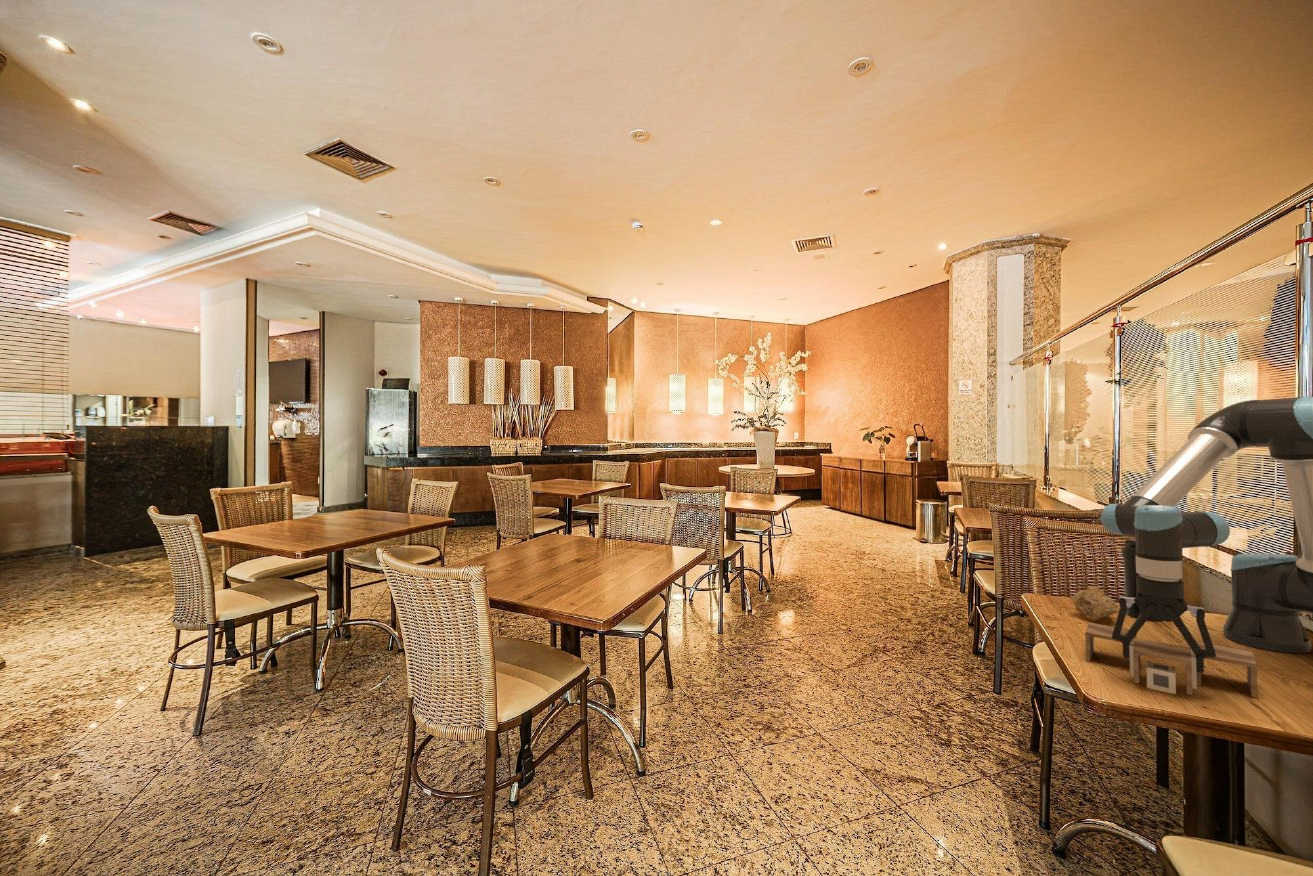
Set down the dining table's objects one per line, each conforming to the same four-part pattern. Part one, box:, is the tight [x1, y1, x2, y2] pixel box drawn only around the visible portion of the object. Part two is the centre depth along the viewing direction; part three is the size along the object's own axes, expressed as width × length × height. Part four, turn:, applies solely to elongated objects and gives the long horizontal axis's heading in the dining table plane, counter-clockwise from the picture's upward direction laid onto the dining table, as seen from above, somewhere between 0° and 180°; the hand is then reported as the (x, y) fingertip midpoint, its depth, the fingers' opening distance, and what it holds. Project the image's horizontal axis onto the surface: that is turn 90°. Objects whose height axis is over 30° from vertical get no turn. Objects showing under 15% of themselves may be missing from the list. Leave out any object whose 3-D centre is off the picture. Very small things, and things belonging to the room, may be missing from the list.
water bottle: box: [1121, 539, 1164, 623], centre depth 160 cm, size 10×10×23 cm
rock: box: [1070, 585, 1119, 622], centre depth 158 cm, size 12×10×10 cm
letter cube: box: [1146, 660, 1177, 695], centre depth 116 cm, size 5×4×5 cm
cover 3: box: [1195, 640, 1258, 698], centre depth 117 cm, size 9×9×7 cm
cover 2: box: [1133, 637, 1193, 696], centre depth 117 cm, size 9×9×7 cm
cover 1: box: [1084, 622, 1138, 662], centre depth 131 cm, size 9×9×7 cm
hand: (1162, 679), depth 116 cm, fingers closed on cover 2, 9 cm apart
